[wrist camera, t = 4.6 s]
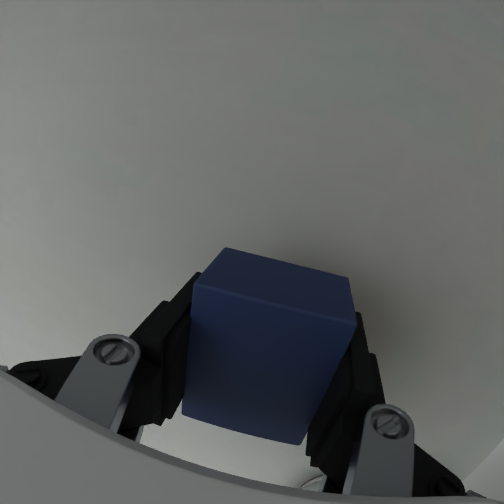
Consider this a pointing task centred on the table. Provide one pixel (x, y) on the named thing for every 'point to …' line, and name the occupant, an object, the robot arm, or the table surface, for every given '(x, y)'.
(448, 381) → the table surface
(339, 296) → the block
